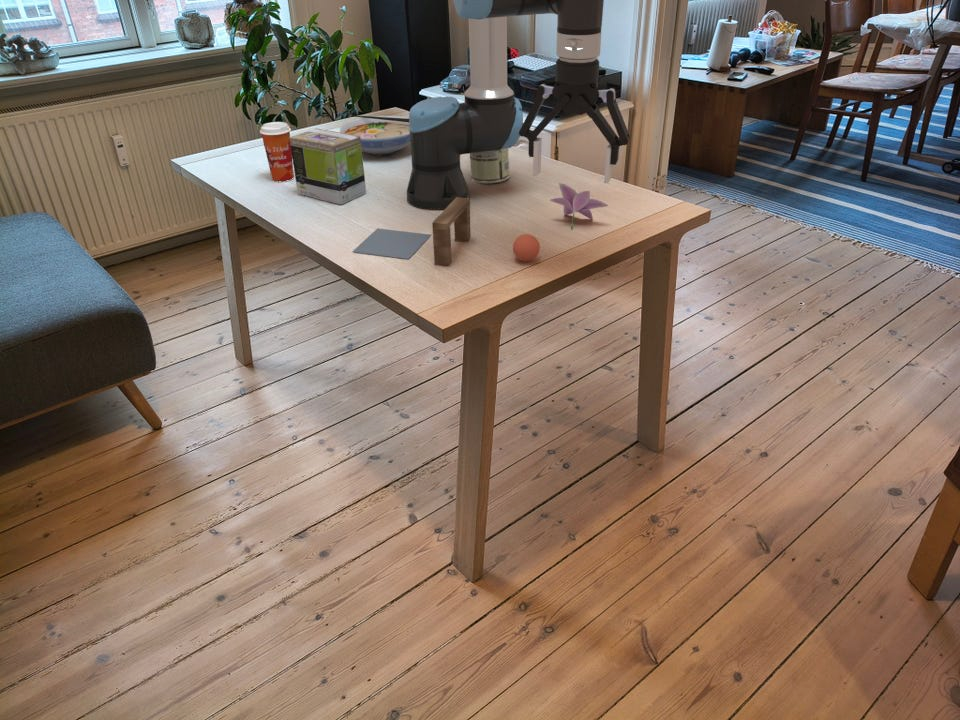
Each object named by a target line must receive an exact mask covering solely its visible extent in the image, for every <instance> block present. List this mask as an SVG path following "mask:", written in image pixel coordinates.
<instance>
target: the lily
mask: <svg viewBox="0 0 960 720" xmlns="http://www.w3.org/2000/svg"><path fill="white" fill-rule="evenodd" d="M558 186H559V187H558V188H559V190H560V192H561V195H562V197H555V198H551V199H549V202H552V203H555V204H557V205H561V206H563V214H564V216H570V215H572V218H571V225H570V226H571V227H570V231H571V230H572V231H573V227H574V226H573V225H574V217H575V214H576V213H579V214H581V215H582V216H585V217H586V218H587V219H589V220H594V217H593V214H592V213H593V212H592V210H593V209H598V208H605V207H608V206H609V205H608V204H607V203H605V202H603V201H601V200H598V199H595V198H590V197H591V191H590V190H584V191H580V192H579V193H578V192H577V191H576V190H575V189H574V188H572V187H570V186H568V185H566V184H565V183H562V182H561V183H558Z"/></svg>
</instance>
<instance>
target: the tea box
mask: <svg viewBox="0 0 960 720" xmlns="http://www.w3.org/2000/svg"><path fill="white" fill-rule="evenodd" d="M289 139H290V146H291V153H292V162H293V173H294V177H295V182H296V184H295V185H296V191H297V194H298V195H300V194H302V195H301V196H304V195H306V196H305V197H308V196H309V198H312V197H313V198H312V199H317V200H320V201H321V200H322V201H326V202H330V203H333V204H338V205H343V204H346V203H349V202H351V201H353V200H355V199H357V197H358V198H359V196H360V197H362V196H363V195H366V193H367V191H366V190H367V189H366V188H367V187H366V178H365V169H364V167H365V166H364V158H363V151H362V147H361V139H360V136H358V135H352V134H346V133H341V132H340V131H334V130H327V129H321V128H317V127H316V128H314V129H310V130H307V131H305V132H301V133H299V134H295V135H293V136H290V137H289ZM361 195H362V196H361ZM352 199H353V200H352Z"/></svg>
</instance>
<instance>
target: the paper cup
mask: <svg viewBox="0 0 960 720" xmlns="http://www.w3.org/2000/svg"><path fill="white" fill-rule="evenodd" d="M291 131H292V129H291V128H290V125H289V124H288V123H287V122H283V121H273V122H272V121H271V122H266V123H263V124H262V125H261V127H260V130H259V133H260V134H261V137H262V142H263V143H262V144H263V147H264V150H265V155H266V158H267V162H268V166H269V171H270V175H271V179H272V181H273V180H274V182H275V181H278V183H280V182H279V181H286V180H290V179H292V178H293V177H295V173H294V166H293V160H292V153H291V146H290V139H289V137H291V134H290V133H291ZM293 179H294V178H293ZM293 179H292V180H293ZM290 181H291V180H290ZM286 182H287V181H286Z"/></svg>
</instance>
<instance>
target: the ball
mask: <svg viewBox="0 0 960 720" xmlns="http://www.w3.org/2000/svg"><path fill="white" fill-rule="evenodd" d="M540 249H541V245H540V241H538V239H537V238H536V236H534V235H532V234H529V233H526V234H521V235H519V236H518V237H517V238H516V239H515V240H514V241H513V244H512V251H513V254H514V256H515V257H516V258H517V259H518V260H520V261H522V262H531V261H533V260H535V259H536V258H537V257H538V255H539V254H540Z"/></svg>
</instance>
